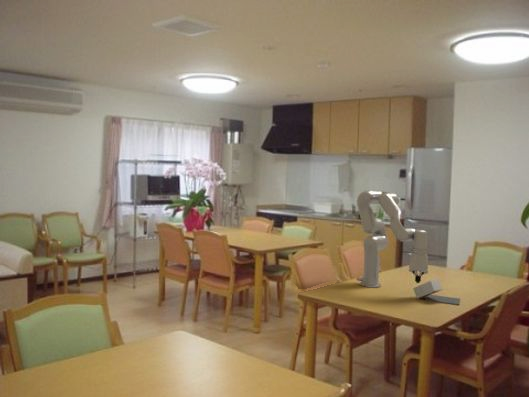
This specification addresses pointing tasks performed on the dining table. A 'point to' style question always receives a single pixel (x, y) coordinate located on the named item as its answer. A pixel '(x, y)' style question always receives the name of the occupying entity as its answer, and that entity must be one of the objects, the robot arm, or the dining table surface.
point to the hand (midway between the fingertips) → (417, 282)
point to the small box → (427, 288)
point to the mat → (443, 299)
